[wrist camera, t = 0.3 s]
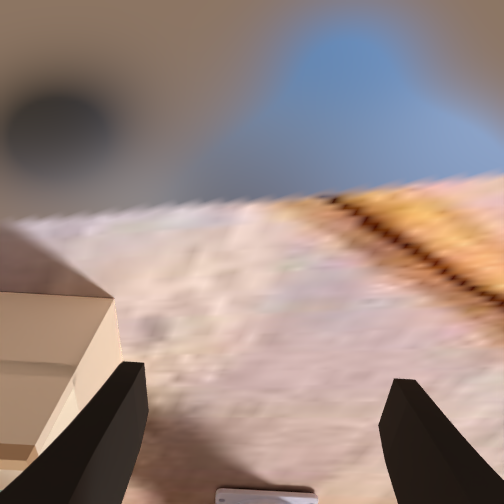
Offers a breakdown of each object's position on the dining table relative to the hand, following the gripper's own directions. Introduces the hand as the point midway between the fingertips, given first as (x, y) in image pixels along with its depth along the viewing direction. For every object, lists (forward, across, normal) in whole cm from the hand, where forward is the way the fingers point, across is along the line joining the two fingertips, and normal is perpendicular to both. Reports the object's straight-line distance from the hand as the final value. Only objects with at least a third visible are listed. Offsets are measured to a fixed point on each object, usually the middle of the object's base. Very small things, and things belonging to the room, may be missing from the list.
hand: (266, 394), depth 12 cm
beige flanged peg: (+10, +12, +9) cm, 18 cm away
